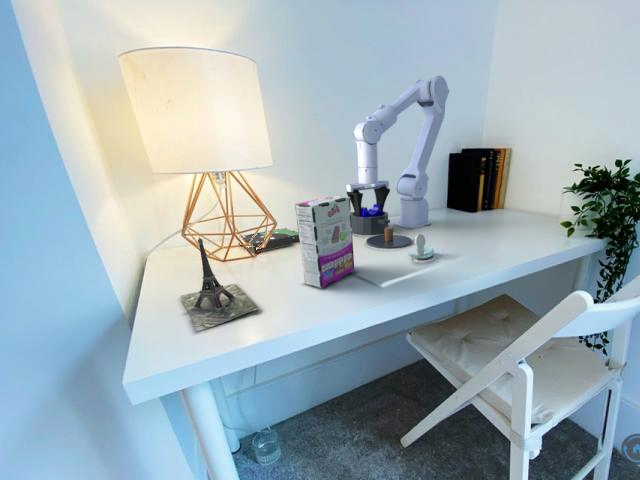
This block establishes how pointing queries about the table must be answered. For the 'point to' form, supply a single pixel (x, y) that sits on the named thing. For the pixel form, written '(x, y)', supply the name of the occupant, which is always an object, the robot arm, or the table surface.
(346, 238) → the candy bar box
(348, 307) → the table surface
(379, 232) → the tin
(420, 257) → the pacifier
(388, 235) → the lid
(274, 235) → the disk drive
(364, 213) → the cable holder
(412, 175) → the robot arm
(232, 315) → the eiffel tower figurine
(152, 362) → the table surface
